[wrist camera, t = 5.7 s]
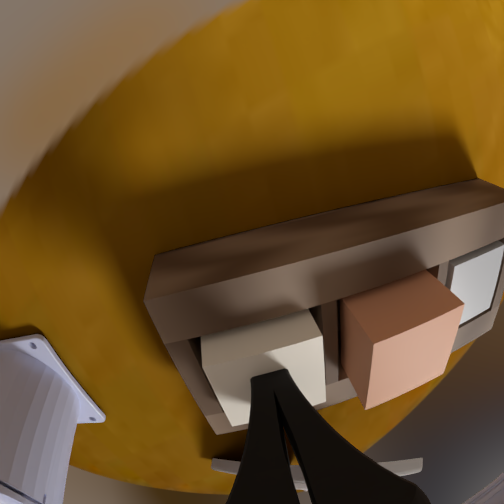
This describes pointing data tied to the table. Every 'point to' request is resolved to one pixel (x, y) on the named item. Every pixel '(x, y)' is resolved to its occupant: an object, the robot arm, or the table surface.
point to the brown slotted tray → (317, 275)
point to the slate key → (475, 278)
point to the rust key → (397, 336)
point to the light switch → (232, 467)
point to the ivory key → (264, 360)
